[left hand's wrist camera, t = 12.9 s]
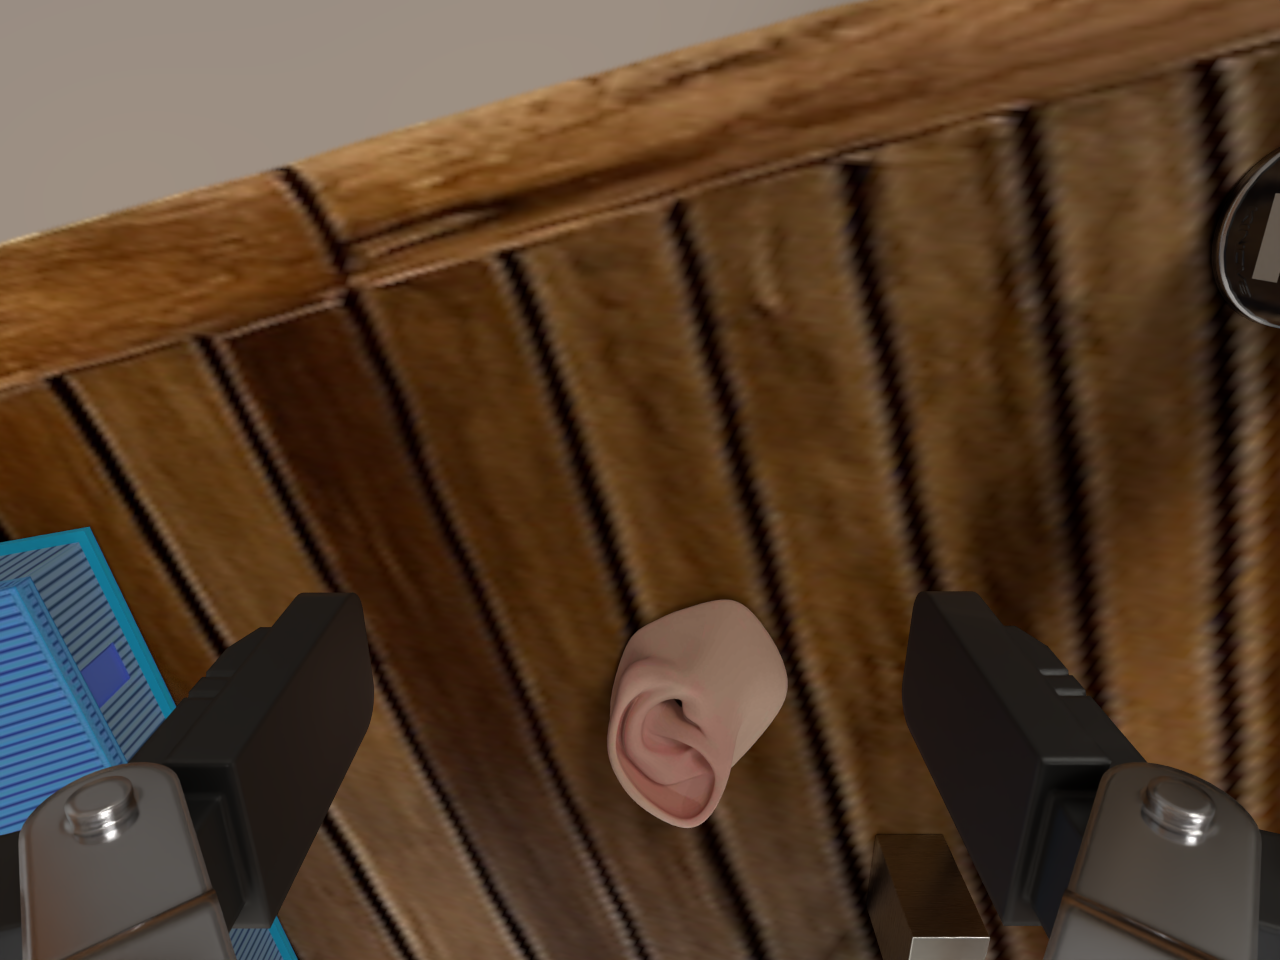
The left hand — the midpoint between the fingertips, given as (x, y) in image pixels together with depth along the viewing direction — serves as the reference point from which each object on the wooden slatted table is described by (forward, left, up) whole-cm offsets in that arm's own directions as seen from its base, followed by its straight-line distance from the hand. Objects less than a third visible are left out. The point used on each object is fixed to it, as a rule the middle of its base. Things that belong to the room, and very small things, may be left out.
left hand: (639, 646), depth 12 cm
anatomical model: (+2, +24, -32) cm, 40 cm away
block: (-10, +42, -32) cm, 53 cm away
